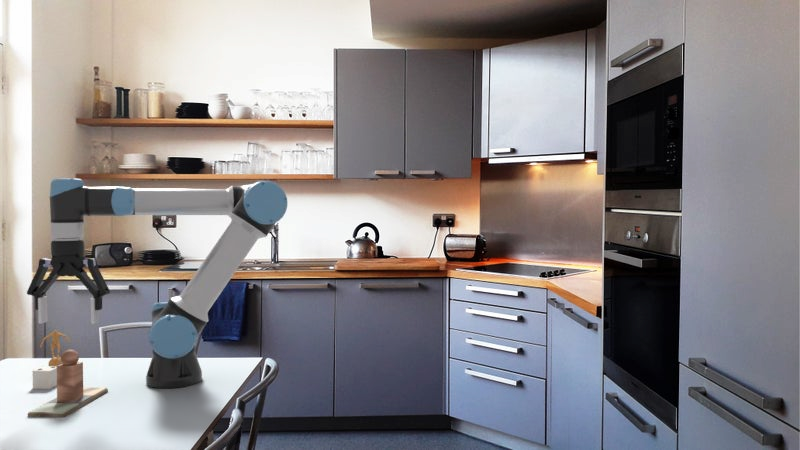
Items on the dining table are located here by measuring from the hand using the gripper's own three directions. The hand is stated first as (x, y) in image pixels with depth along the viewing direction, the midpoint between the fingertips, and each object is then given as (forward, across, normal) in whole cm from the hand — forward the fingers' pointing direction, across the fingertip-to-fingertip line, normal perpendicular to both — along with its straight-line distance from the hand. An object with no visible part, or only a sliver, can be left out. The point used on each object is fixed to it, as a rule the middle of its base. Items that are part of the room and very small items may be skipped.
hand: (69, 323), depth 165 cm
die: (+21, +16, -16) cm, 30 cm away
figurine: (+21, +24, -34) cm, 46 cm away
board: (+21, 0, 0) cm, 21 cm away
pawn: (+20, 0, 0) cm, 20 cm away
